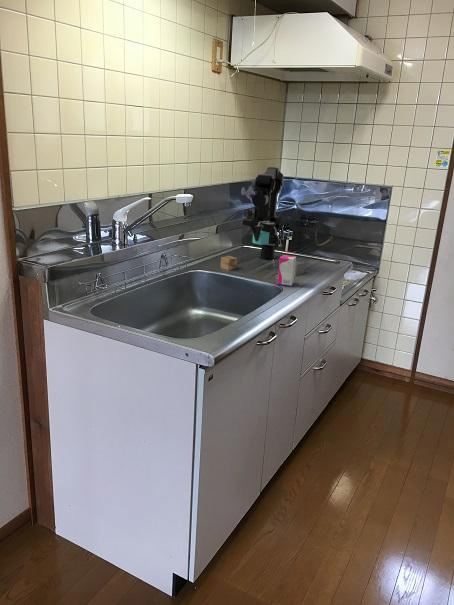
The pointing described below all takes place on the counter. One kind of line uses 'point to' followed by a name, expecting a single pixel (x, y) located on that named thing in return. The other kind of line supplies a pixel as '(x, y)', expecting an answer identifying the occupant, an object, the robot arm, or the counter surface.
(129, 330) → the counter surface
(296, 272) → the charcoal cube
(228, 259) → the walnut cube
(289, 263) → the supplement box
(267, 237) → the teal cube
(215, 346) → the counter surface
